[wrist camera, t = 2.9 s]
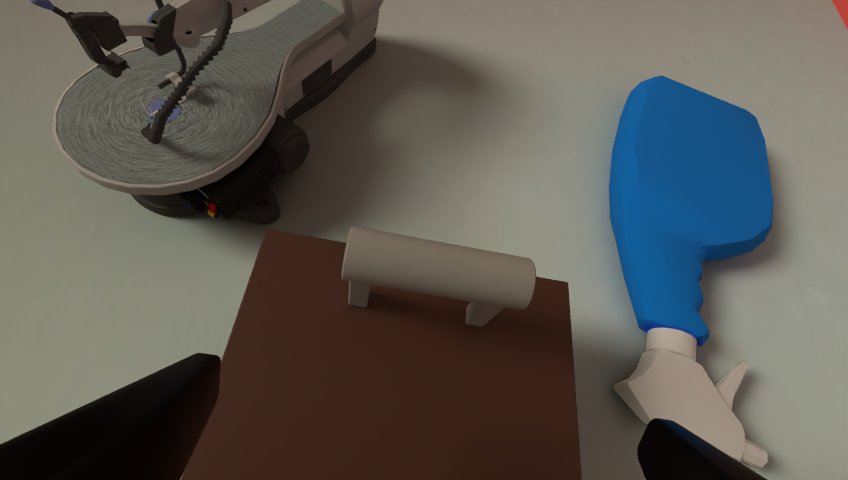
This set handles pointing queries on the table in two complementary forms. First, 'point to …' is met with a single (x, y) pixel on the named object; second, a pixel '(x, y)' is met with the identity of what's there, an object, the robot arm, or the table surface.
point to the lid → (393, 366)
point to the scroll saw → (205, 99)
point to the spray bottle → (685, 245)
